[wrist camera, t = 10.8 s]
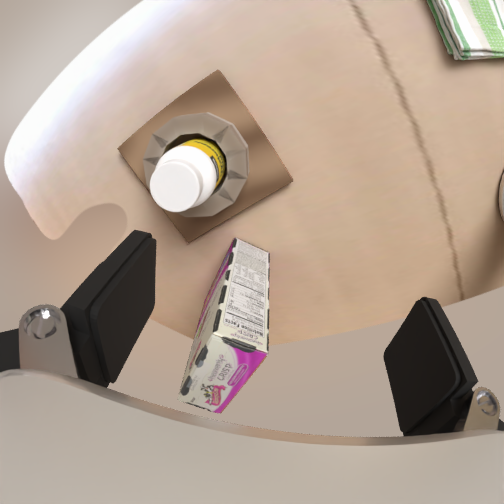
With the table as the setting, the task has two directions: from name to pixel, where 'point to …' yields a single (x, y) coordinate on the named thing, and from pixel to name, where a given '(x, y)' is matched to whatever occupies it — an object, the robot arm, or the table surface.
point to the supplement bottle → (188, 174)
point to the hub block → (230, 141)
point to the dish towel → (470, 27)
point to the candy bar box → (230, 330)
